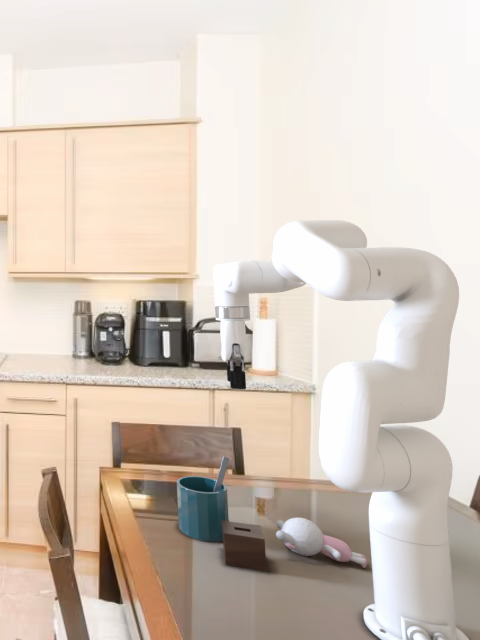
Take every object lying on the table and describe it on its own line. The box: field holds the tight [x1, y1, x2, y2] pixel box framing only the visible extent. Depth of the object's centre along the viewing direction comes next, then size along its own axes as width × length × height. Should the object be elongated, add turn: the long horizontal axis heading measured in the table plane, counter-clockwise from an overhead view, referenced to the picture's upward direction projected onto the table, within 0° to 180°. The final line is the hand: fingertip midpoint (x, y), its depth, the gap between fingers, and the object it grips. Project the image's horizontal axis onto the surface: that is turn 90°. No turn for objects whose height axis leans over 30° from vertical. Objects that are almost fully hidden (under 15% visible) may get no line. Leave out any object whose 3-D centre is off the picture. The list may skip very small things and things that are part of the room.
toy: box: [275, 517, 368, 569], centre depth 102 cm, size 8×7×15 cm
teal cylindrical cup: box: [176, 475, 230, 542], centre depth 114 cm, size 10×10×10 cm
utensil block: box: [222, 520, 268, 572], centre depth 101 cm, size 6×7×6 cm
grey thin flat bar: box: [213, 456, 230, 492], centre depth 114 cm, size 1×2×16 cm, turn 63°
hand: (236, 385), depth 124 cm, fingers open, 9 cm apart
